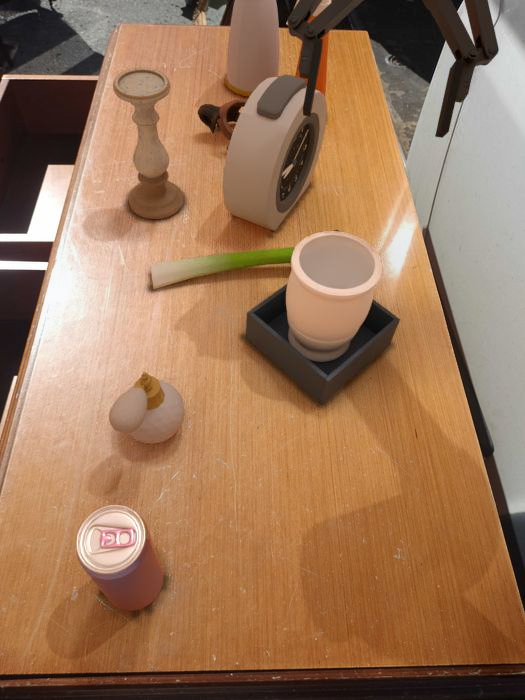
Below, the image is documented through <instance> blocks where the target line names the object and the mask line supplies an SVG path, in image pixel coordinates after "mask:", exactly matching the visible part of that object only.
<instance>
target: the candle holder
mask: <svg viewBox="0 0 525 700" xmlns="http://www.w3.org/2000/svg"><path fill="white" fill-rule="evenodd" d="M112 89H113V92H114V95H116V97H118V99H120V100H121V101H124V102H126V103H129V104H131V105H132V106H133V107H134V112H133V113H132V116H131V120H132V121H133V123H134V124H136V127H137V143H136V146H135V148H134V151H133V156H132V162H133V166H134V168H135V170H136V171H137V172H138V173H137V180H138V181H139V183H138V184H136V185H135V186H133V188H132V189H130V192H129V193H128V205H129V207H130V209H131V210H132V211H133V213H135V215H138V216H139V217H141V218H145V219H149V220H161V219H166V218H168V217H171V216H173V215H175V214H176V213H178V212H179V211H180V210H181V208H182V206H183V204H184V194H183V191H182V189H181V188H180V187H179V186H178V185H177V184H176V183H174V182H171V181H170V180H169V178H170V177H169V172H168V168H169V165H170V157H169V154H168V151H167V149H166V147H165V146H164V144H162V141H161V139H160V137H159V132H158V127H157V123H158V122H159V120H160V114H159V113H158V112H157V110H156V109H155V105H156V104H157V103H158V102H159V101H161V100H164V99H165V98H166V97H167V96H168V95H169V93H170V92H171V82H170V79H169V78H168V76H167V75H166V74H165V73H163V72H162V71H159V70H157V69H154V68H149V67H134V68H130V69H126V70H124V71H122V72H120V73H118V74H117V75H116V76H115V78H114V79H113V82H112Z"/></svg>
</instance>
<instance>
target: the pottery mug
mask: <svg viewBox="0 0 525 700" xmlns="http://www.w3.org/2000/svg"><path fill="white" fill-rule="evenodd" d="M247 100H248V99H247ZM247 100H246V99H242V98H238V99H232V100H231V101H228V102H225V103H223V104H222V105H221V106H218V105H214V104H211V103H204V104H202V105H200V106H199V108H198V109H197V115H198V118H199V120H200V121H201V122H202V123H203V124H204V125H205V126H206V127H208V129H209V130H210V132H211V134H215V132H216V131H215V130H216V129H217V130H220V131H221V132H222V134H223V136H224V137H225V139H226V140H228V145H227V146H226V151H227V150H228V147H229V144H230V140H231V137H232V133H233V130H234V129H232V127H231V126H230V125H229V123H233V122H234V123H237V121H238V118H239V116H240V113H241V111H240V110H241V108H244V106H245V104H246V102H247Z"/></svg>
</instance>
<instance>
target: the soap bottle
mask: <svg viewBox="0 0 525 700" xmlns="http://www.w3.org/2000/svg"><path fill="white" fill-rule="evenodd" d="M277 3H278V2H277V0H234V2H233V8H232V12H231V20H230V26H229V32H228V33H229V35H228V42H227V53H226V55H227V56H226V73H225V76H224V82H225V85H226V86H227V88H228V89H229V90H230V91H232V92H234V93H235V94H238V95H240V96H244V97H248V98H249V97H250V95H251V94H252V93H253V92H254V90H255V89H256V88H257V87H258V85H259V84H260V83H262V82H263V81H264V80H266V79H267V78H271V77H278V78H279V77H280V76H279V71H280V26H279V25H280V23H279V11H278V10H279V9H278V5H277Z"/></svg>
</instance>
